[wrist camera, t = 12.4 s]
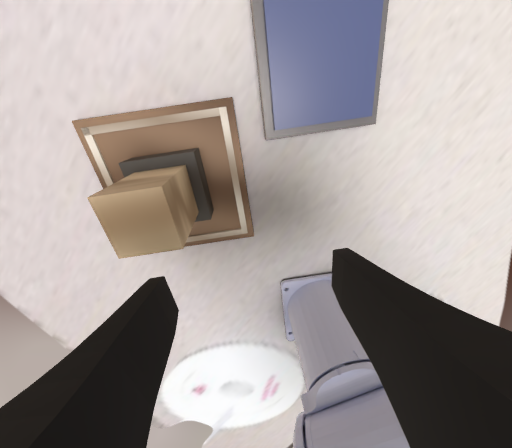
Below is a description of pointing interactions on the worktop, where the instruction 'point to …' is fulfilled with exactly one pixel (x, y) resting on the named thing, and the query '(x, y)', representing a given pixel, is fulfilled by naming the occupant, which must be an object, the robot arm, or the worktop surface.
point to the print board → (175, 139)
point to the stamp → (154, 203)
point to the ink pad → (318, 63)
